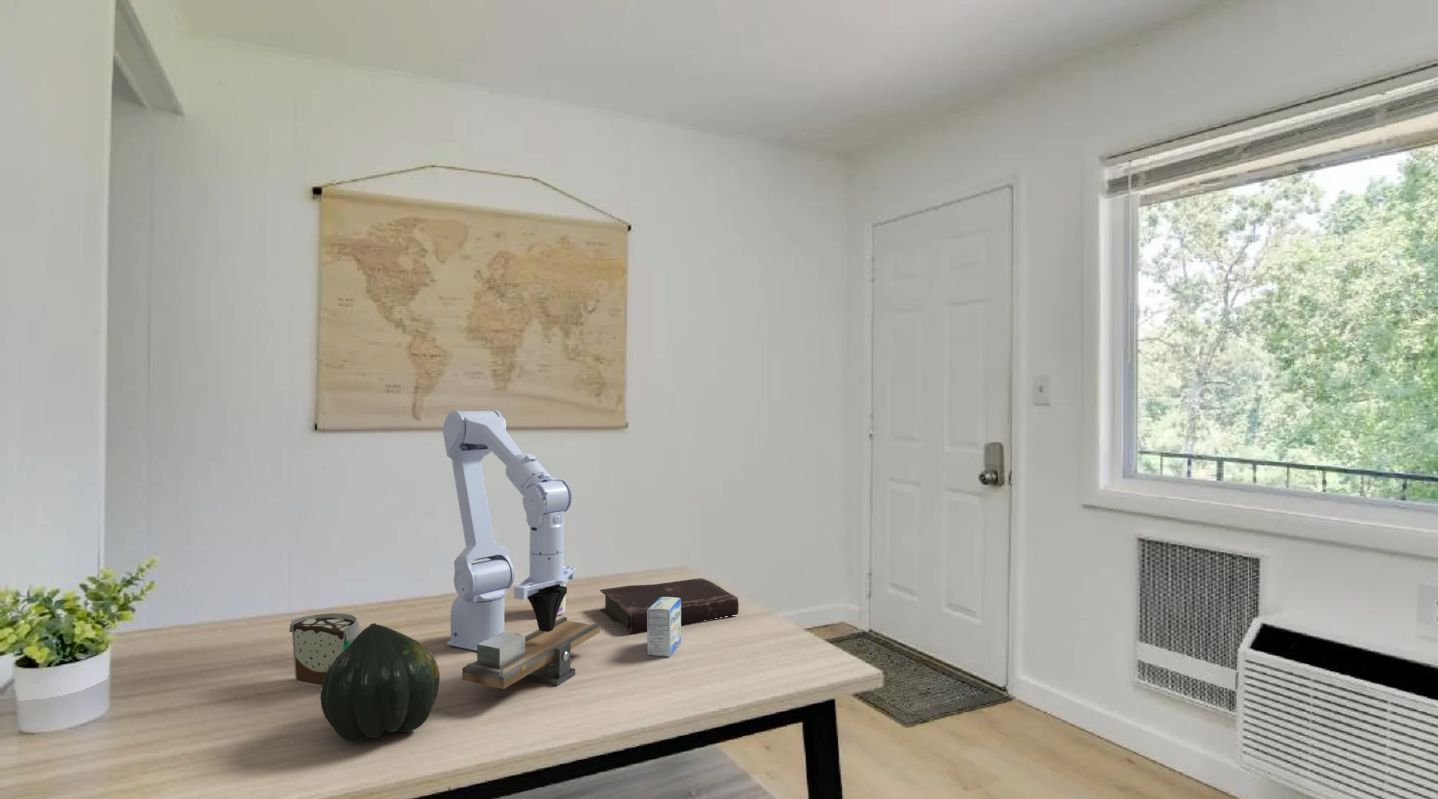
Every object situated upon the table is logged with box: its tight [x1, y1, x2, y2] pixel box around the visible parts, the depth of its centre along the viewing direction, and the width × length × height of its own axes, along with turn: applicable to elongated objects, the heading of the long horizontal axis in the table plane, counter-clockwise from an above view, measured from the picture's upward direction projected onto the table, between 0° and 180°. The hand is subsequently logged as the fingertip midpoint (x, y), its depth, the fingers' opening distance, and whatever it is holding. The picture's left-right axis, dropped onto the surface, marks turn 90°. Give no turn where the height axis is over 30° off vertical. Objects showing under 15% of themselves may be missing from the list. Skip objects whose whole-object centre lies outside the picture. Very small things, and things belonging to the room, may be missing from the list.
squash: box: [319, 622, 441, 743], centre depth 99 cm, size 14×15×15 cm
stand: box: [515, 633, 576, 687], centre depth 118 cm, size 12×5×6 cm, turn 67°
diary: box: [599, 577, 740, 635], centre depth 152 cm, size 19×25×5 cm
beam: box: [461, 616, 601, 690], centre depth 118 cm, size 8×26×2 cm, turn 157°
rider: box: [476, 631, 526, 673], centre depth 110 cm, size 4×6×4 cm
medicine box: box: [646, 597, 682, 658], centre depth 130 cm, size 8×4×9 cm, turn 168°
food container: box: [288, 612, 362, 688], centre depth 115 cm, size 12×6×10 cm, turn 71°
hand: (546, 630), depth 120 cm, fingers closed
